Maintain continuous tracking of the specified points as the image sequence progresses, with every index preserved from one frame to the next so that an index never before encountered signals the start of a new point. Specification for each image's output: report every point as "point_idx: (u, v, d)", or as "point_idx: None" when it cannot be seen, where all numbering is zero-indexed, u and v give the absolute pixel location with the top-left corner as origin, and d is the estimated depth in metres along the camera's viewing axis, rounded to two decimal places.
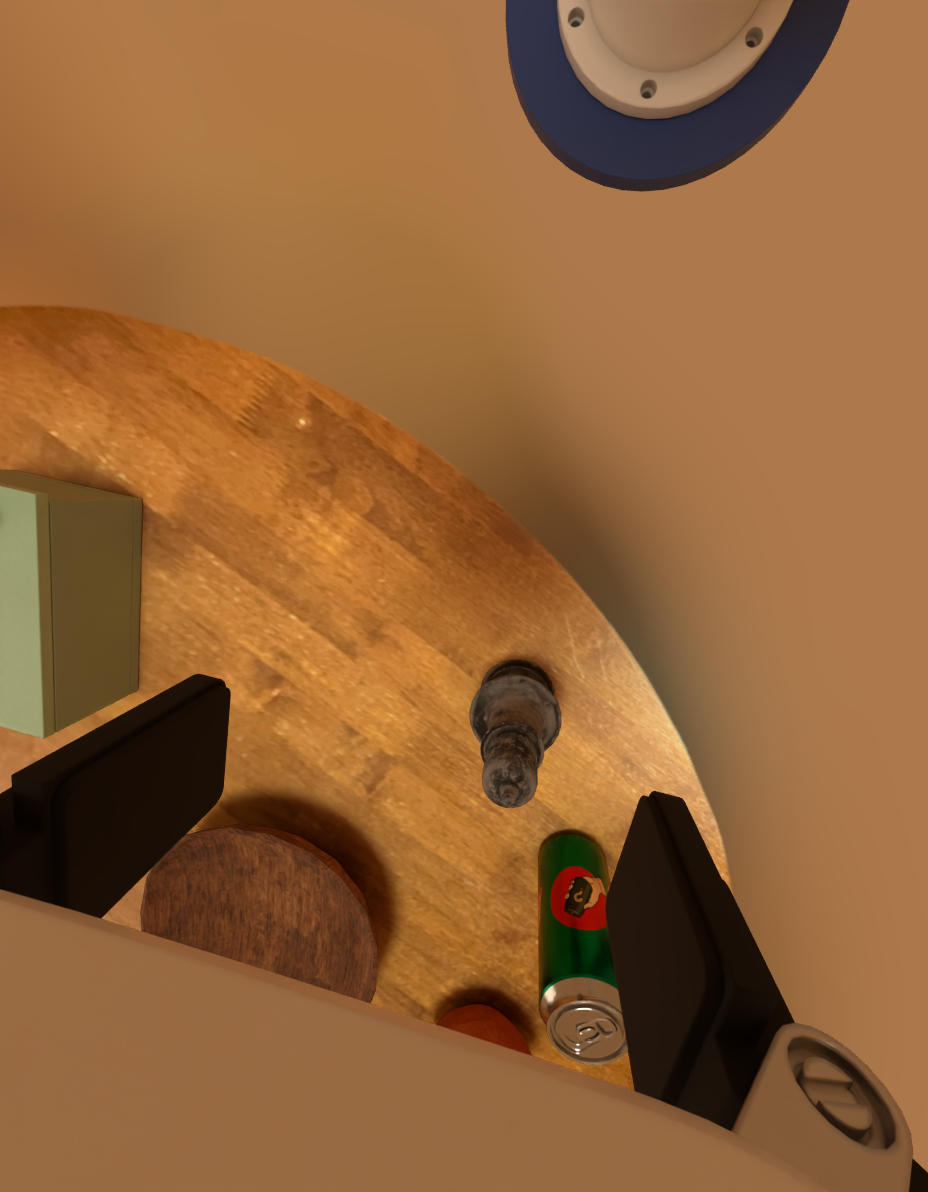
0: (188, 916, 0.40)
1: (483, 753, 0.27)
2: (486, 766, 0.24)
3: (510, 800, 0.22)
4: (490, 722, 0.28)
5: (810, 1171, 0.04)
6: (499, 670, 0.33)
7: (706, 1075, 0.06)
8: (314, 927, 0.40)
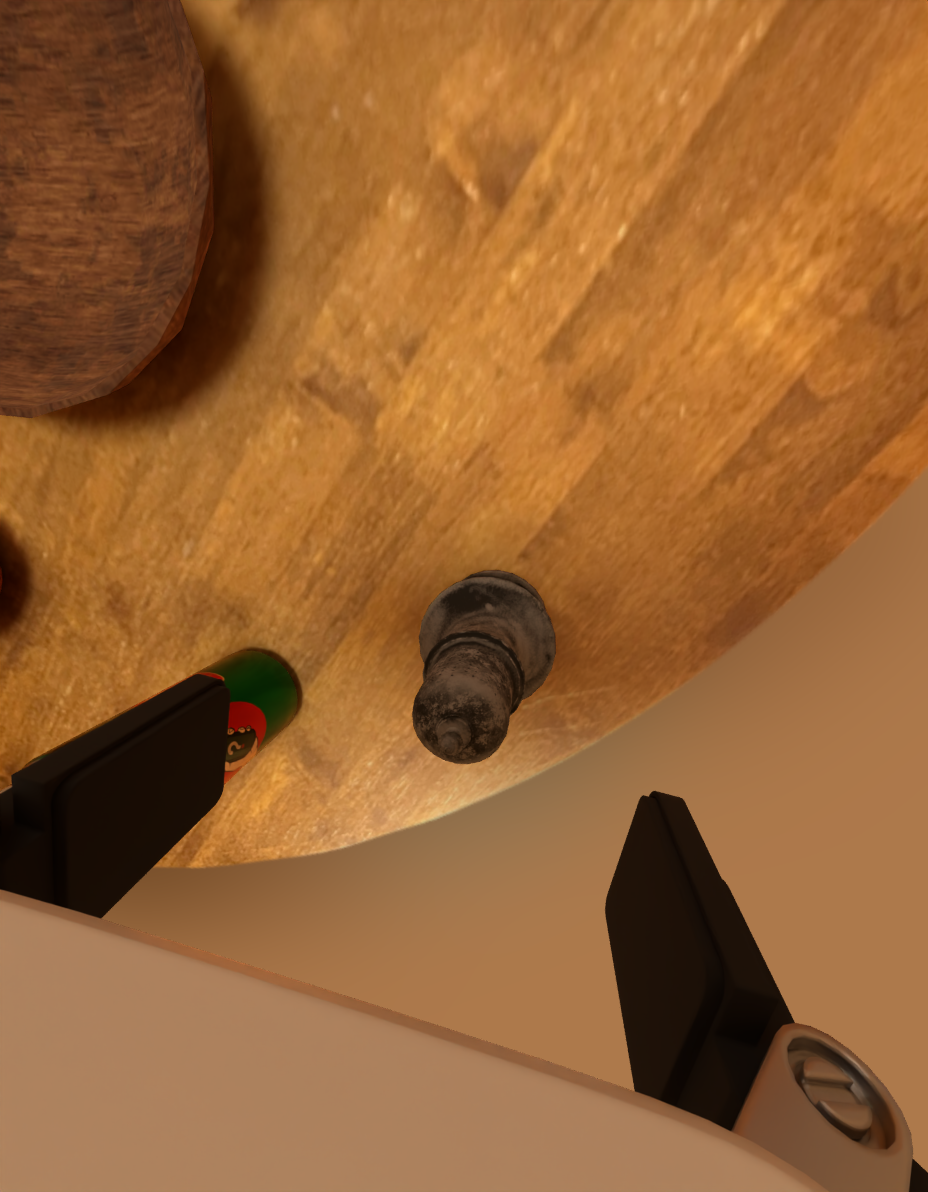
0: None
1: (465, 636, 0.16)
2: (484, 681, 0.13)
3: (453, 753, 0.12)
4: (493, 624, 0.18)
5: (810, 1171, 0.04)
6: None
7: (706, 1075, 0.06)
8: (30, 273, 0.23)
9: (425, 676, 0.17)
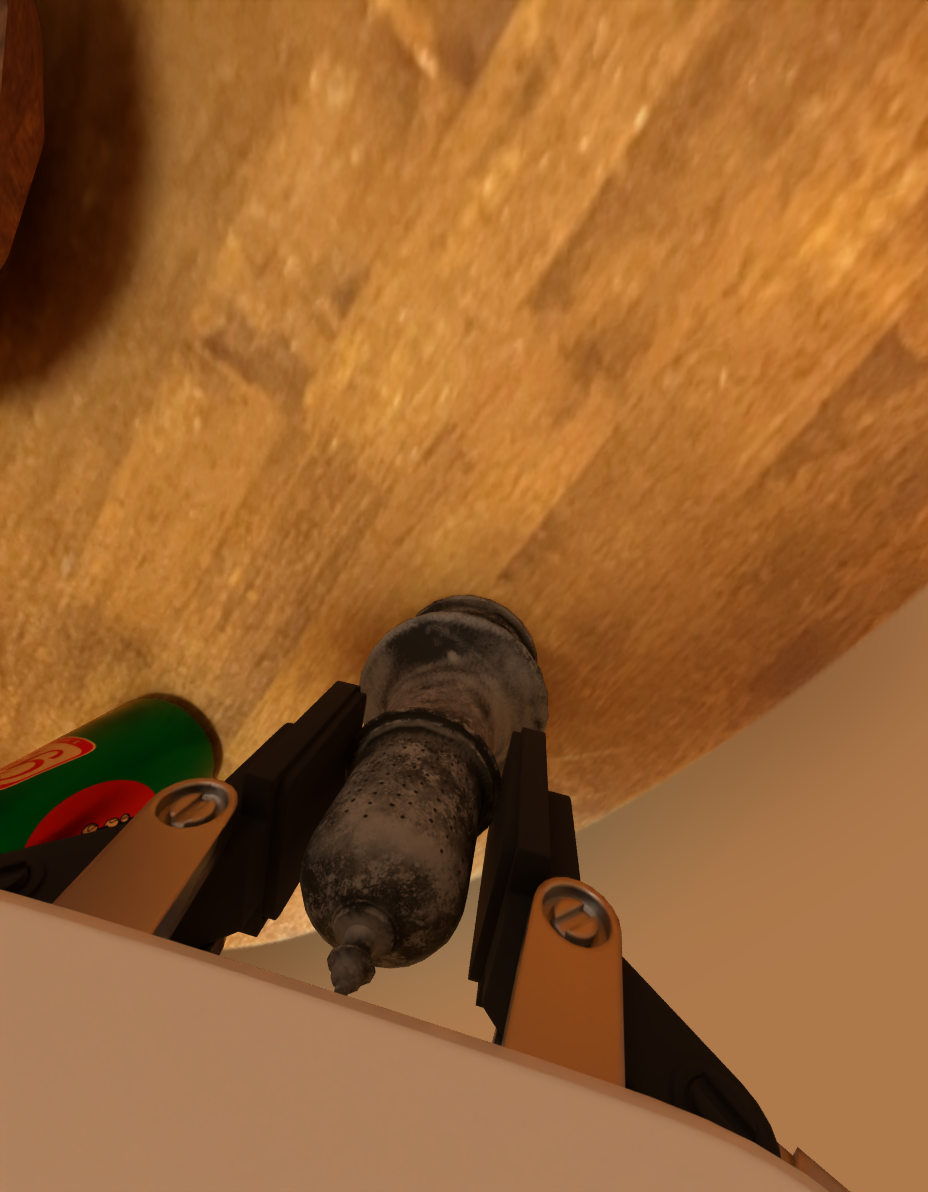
0: None
1: (407, 718, 0.10)
2: (422, 825, 0.07)
3: (353, 991, 0.06)
4: (457, 685, 0.12)
5: (566, 989, 0.05)
6: (518, 637, 0.17)
7: (499, 923, 0.07)
8: None
9: (348, 775, 0.11)
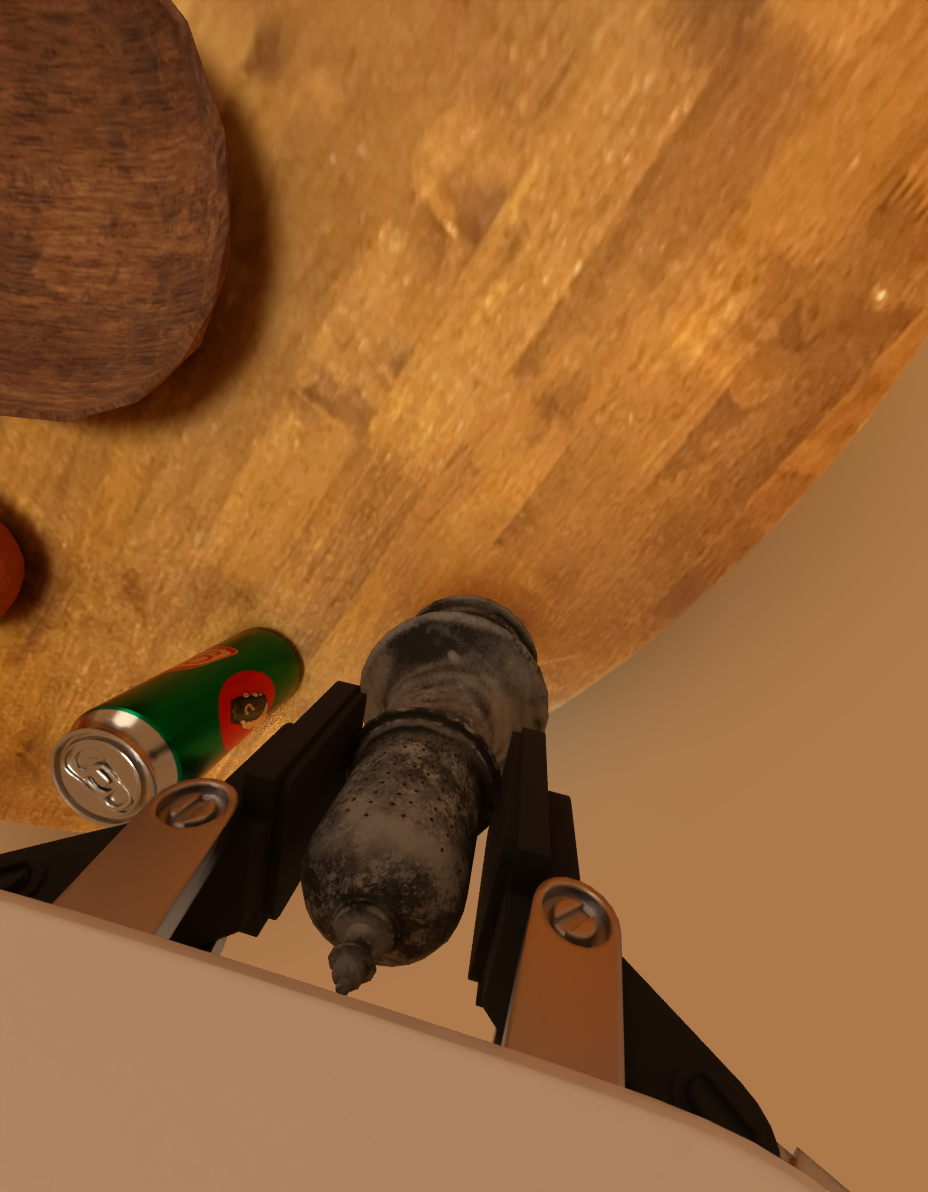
0: None
1: (408, 718, 0.10)
2: (423, 824, 0.08)
3: (354, 989, 0.06)
4: (458, 685, 0.12)
5: (566, 989, 0.05)
6: (518, 636, 0.17)
7: (499, 922, 0.07)
8: (55, 291, 0.25)
9: (349, 774, 0.11)
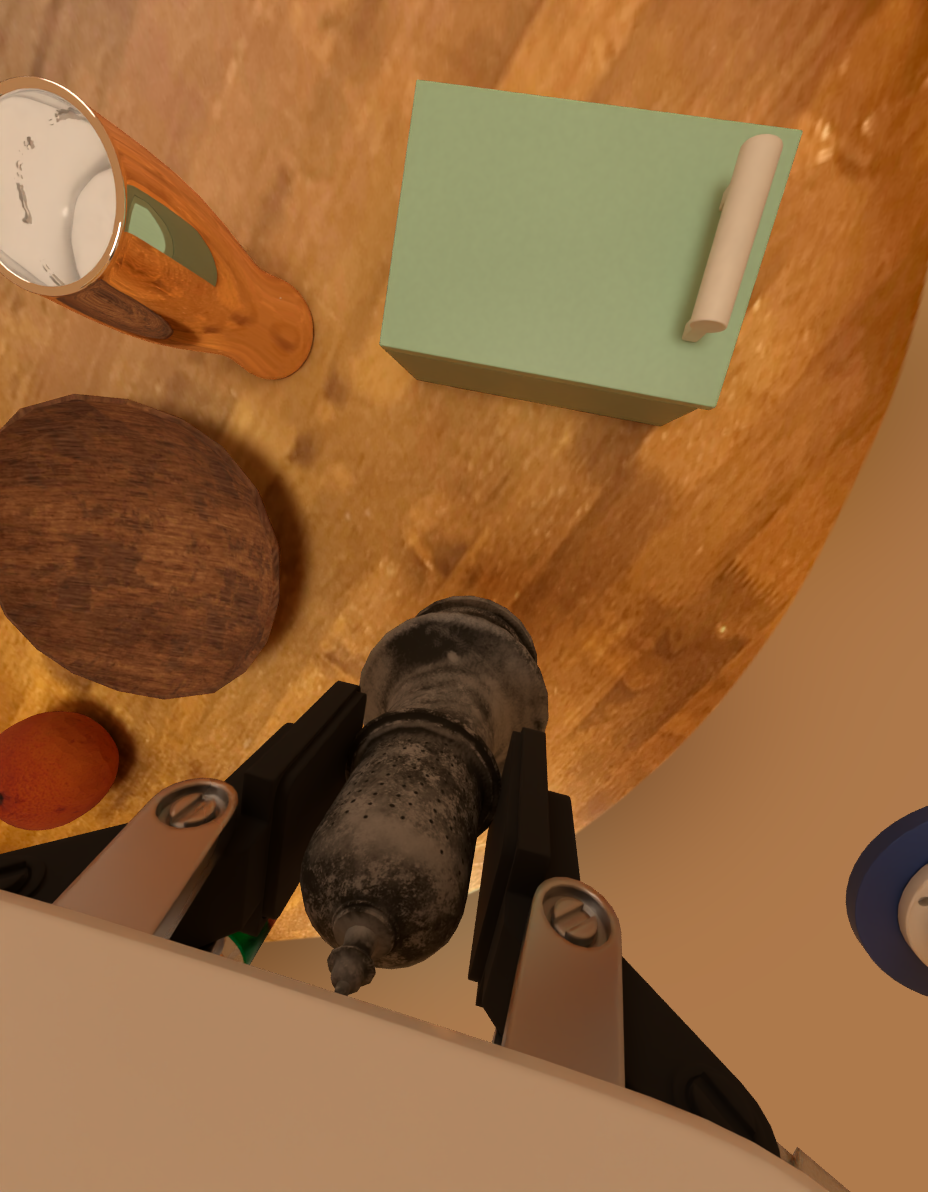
0: (125, 437, 0.31)
1: (407, 719, 0.10)
2: (422, 826, 0.07)
3: (353, 992, 0.06)
4: (457, 686, 0.12)
5: (566, 989, 0.05)
6: (518, 637, 0.17)
7: (499, 922, 0.07)
8: (151, 585, 0.35)
9: (348, 775, 0.11)
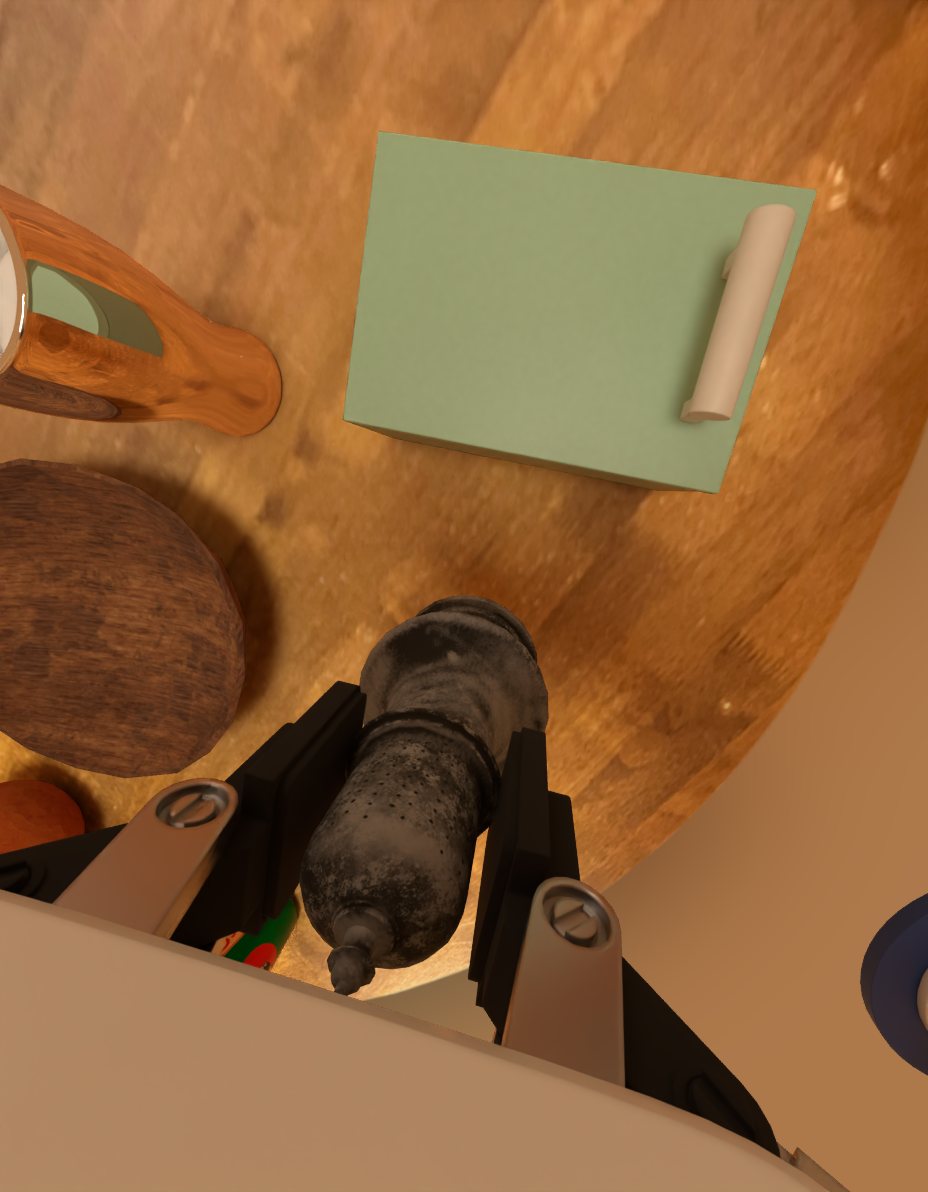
0: (81, 498, 0.29)
1: (407, 719, 0.10)
2: (422, 826, 0.07)
3: (353, 992, 0.06)
4: (457, 685, 0.12)
5: (566, 989, 0.05)
6: (518, 637, 0.17)
7: (499, 922, 0.07)
8: (114, 649, 0.33)
9: (348, 775, 0.11)
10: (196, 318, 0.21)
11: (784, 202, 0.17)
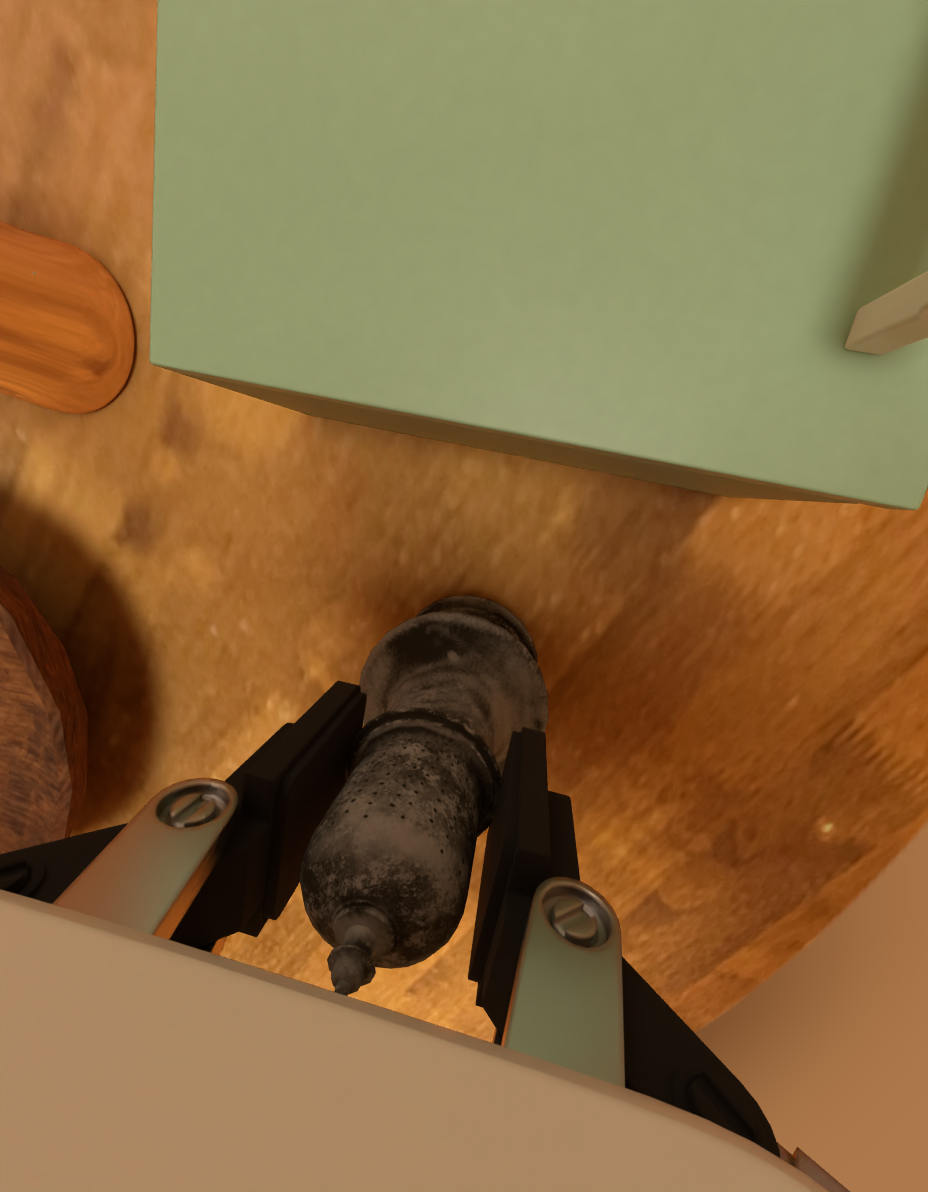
0: None
1: (408, 718, 0.10)
2: (423, 826, 0.07)
3: (353, 992, 0.06)
4: (457, 685, 0.12)
5: (566, 989, 0.05)
6: (518, 637, 0.17)
7: (499, 922, 0.07)
8: None
9: (348, 775, 0.11)
10: None
11: None
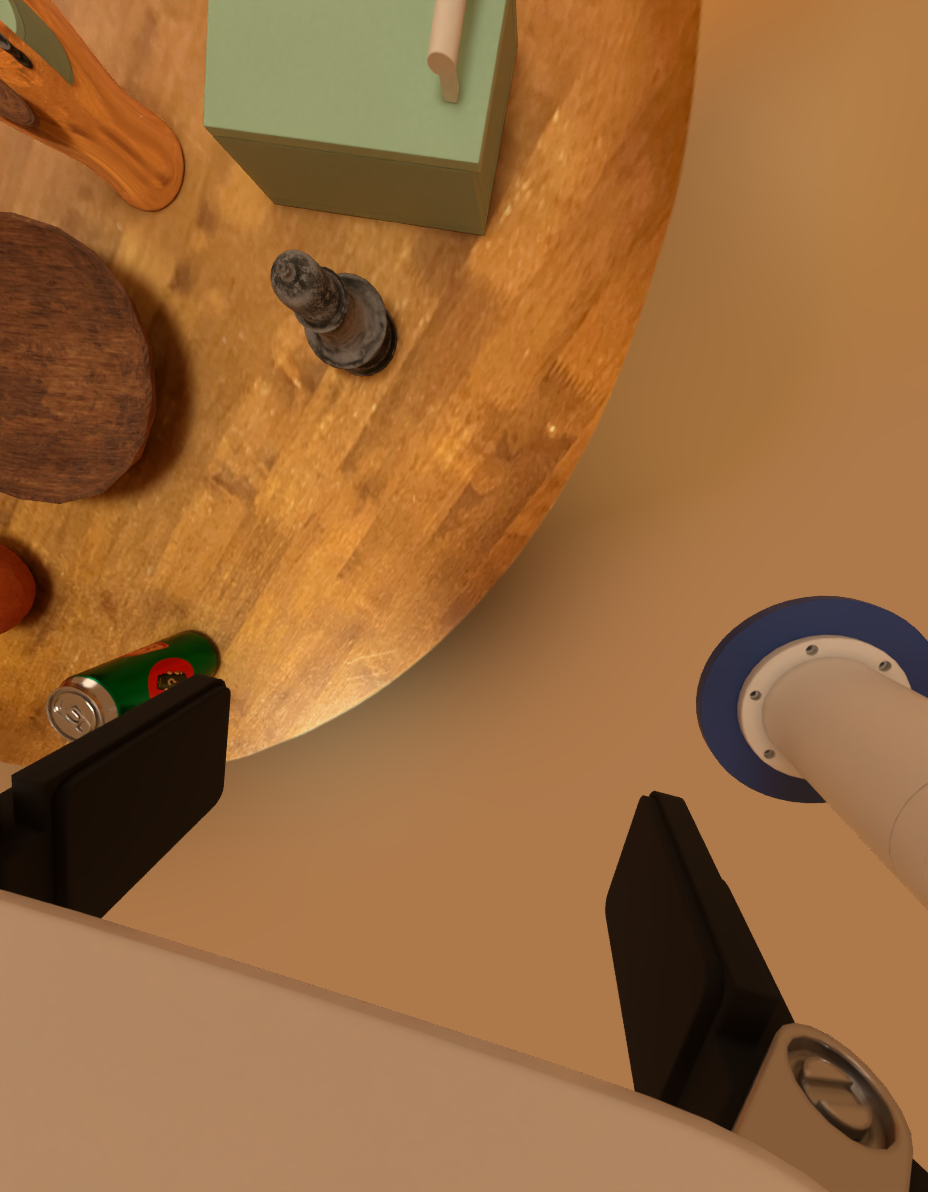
0: (21, 263, 0.35)
1: None
2: (307, 254, 0.25)
3: (283, 269, 0.24)
4: None
5: (810, 1171, 0.04)
6: (385, 317, 0.34)
7: (706, 1075, 0.06)
8: (55, 414, 0.39)
9: None
10: (93, 55, 0.27)
11: None
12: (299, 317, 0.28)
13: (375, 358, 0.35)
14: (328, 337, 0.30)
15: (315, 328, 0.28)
